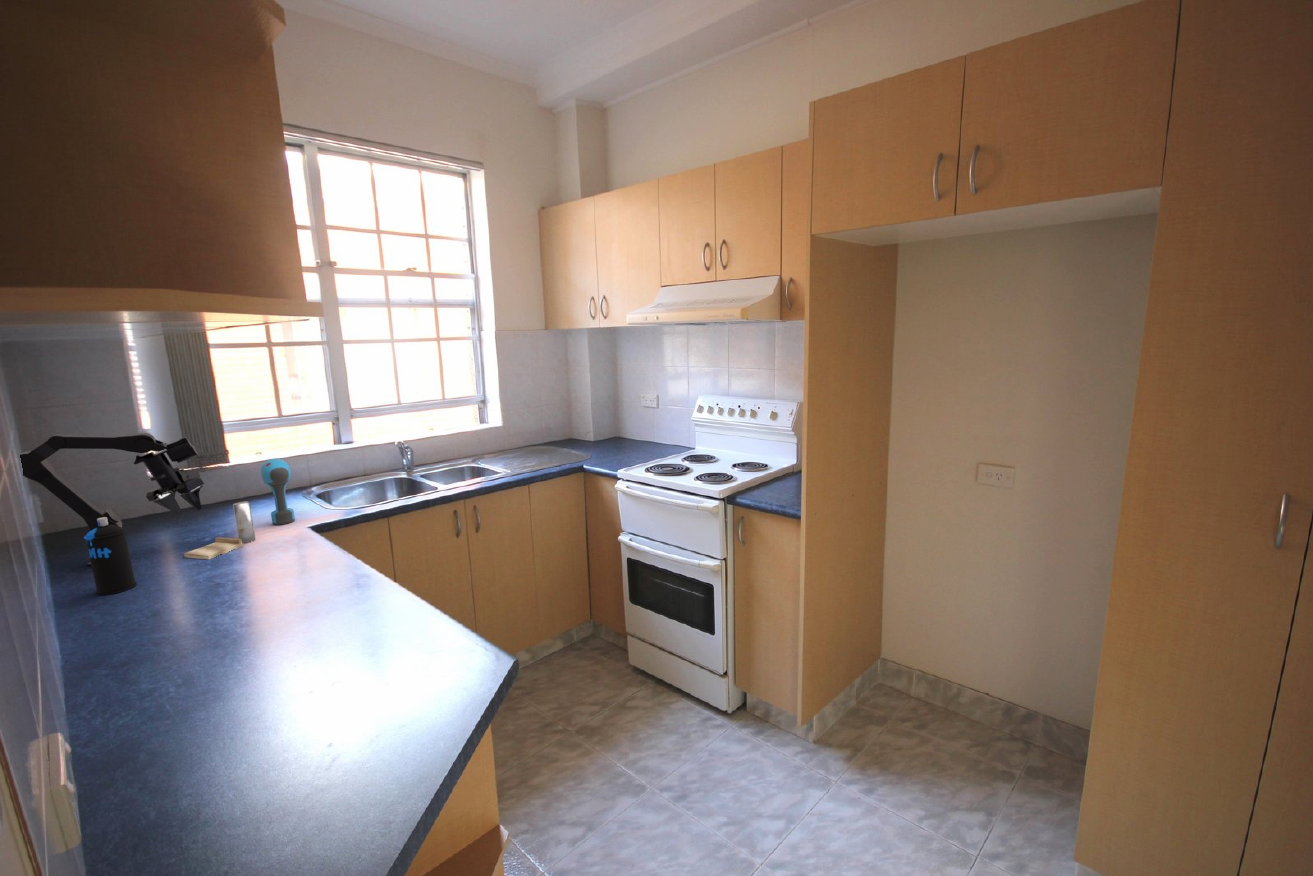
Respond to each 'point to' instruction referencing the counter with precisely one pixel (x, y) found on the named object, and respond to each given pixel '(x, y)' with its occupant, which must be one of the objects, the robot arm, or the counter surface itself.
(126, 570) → the aerosol can
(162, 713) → the counter surface
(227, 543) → the wooden tray
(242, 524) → the rod
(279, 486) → the power drill
